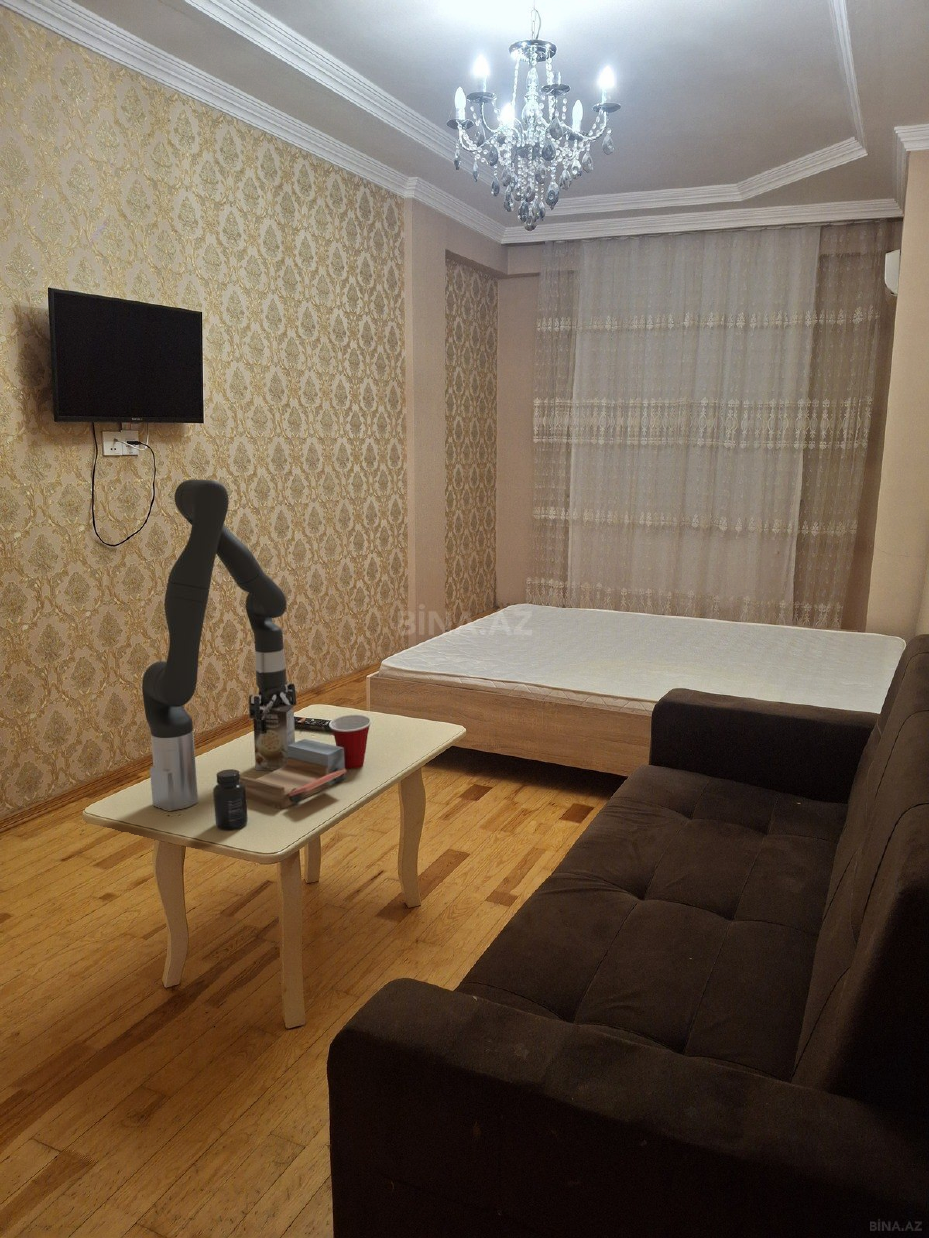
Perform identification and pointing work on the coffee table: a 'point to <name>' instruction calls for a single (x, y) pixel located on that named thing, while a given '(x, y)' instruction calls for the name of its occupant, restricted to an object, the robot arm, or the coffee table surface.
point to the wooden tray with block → (297, 774)
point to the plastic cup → (351, 738)
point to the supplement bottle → (230, 801)
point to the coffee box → (274, 738)
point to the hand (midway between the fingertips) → (274, 728)
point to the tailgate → (317, 782)
